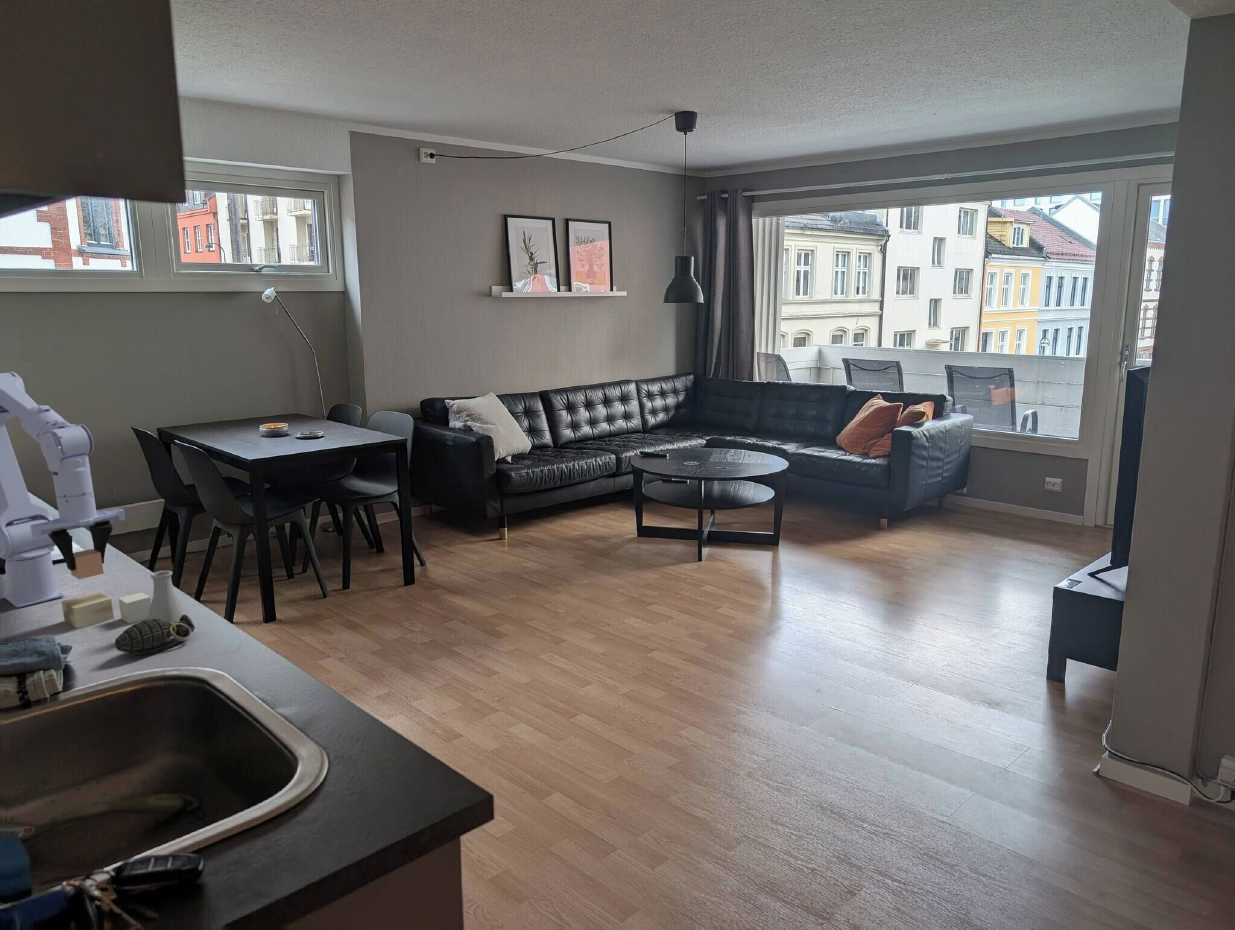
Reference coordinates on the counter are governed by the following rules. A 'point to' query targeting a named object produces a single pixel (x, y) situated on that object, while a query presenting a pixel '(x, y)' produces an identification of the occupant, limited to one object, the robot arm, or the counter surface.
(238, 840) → the counter surface
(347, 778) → the counter surface
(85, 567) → the brown cube
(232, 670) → the counter surface
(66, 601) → the beech block
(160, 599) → the flask
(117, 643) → the grenade
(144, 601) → the cream cube
